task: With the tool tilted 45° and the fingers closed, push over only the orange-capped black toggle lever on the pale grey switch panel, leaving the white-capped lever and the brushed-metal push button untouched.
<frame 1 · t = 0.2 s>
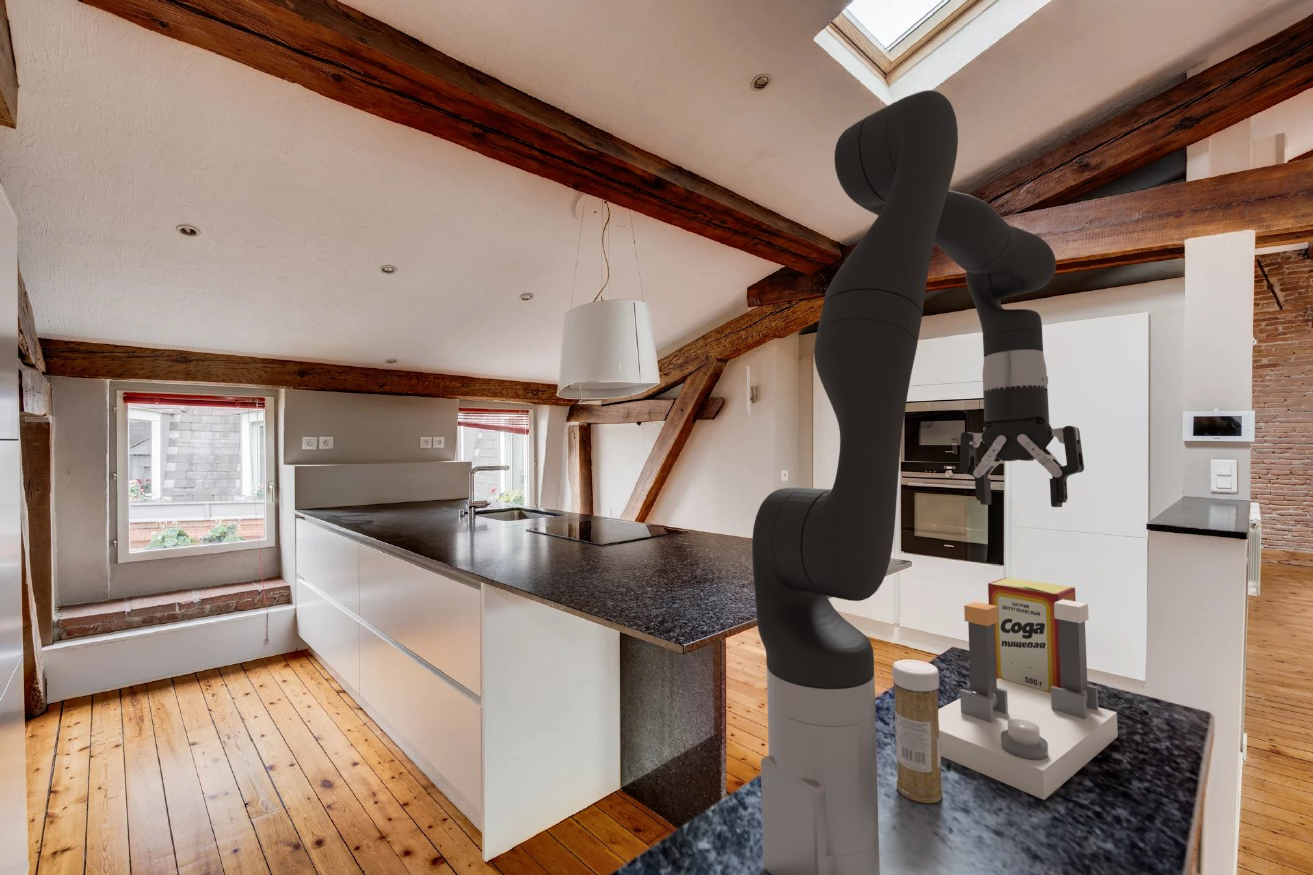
hand: (1020, 505, 78), 29 cm above the counter, tool pointing down, fingers open, 8 cm apart
switch panel: (1018, 740, 72), on the counter
sprinkles bottle: (919, 794, 61), on the counter
lever orange: (982, 657, 73), point 10 cm above the counter, hinge at 0.0°
baking soda box: (1034, 690, 87), on the counter
lever white: (1072, 654, 74), point 10 cm above the counter, hinge at 0.0°
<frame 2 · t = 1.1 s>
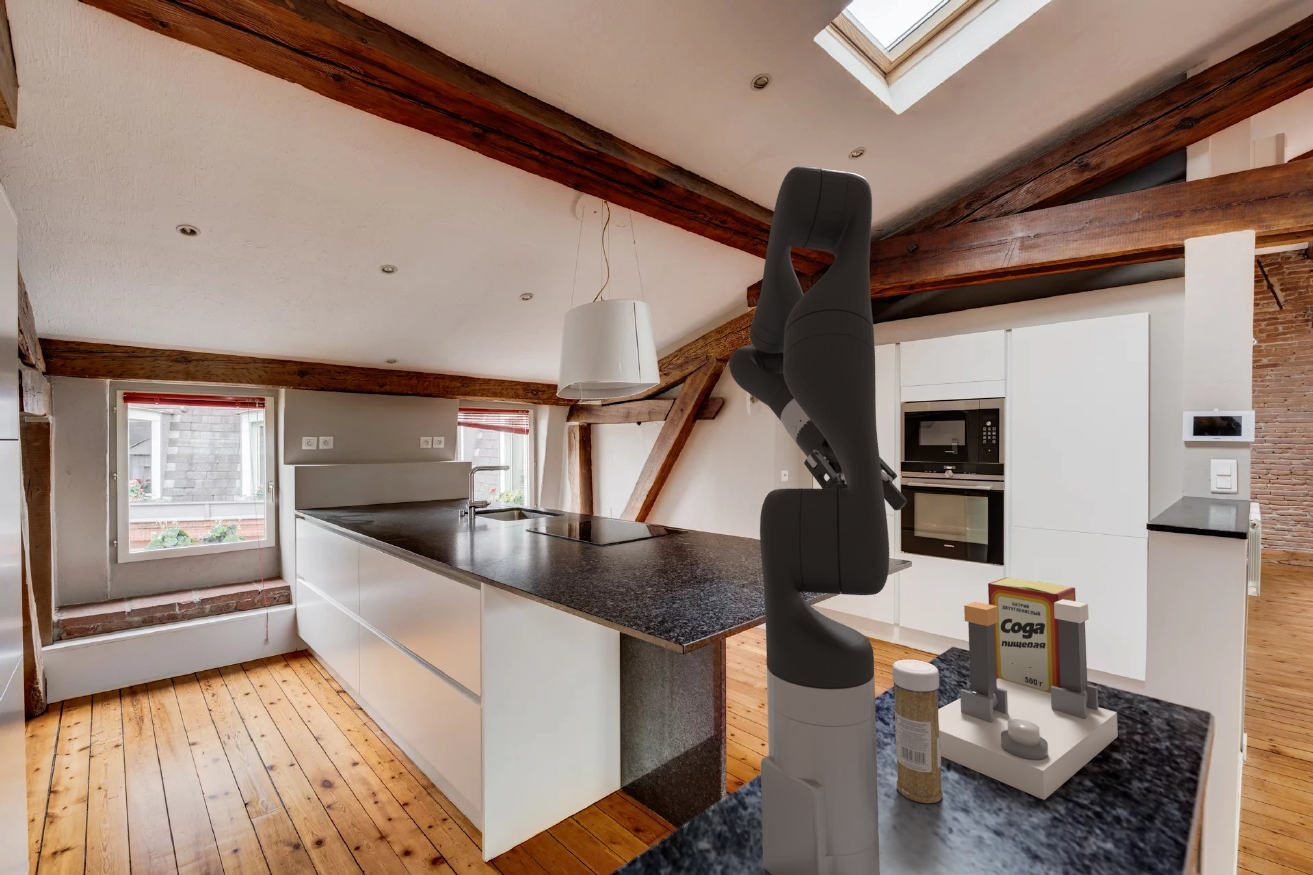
hand: (884, 508, 78), 29 cm above the counter, tool tilted 45°, fingers open, 8 cm apart
nothing on the counter moved.
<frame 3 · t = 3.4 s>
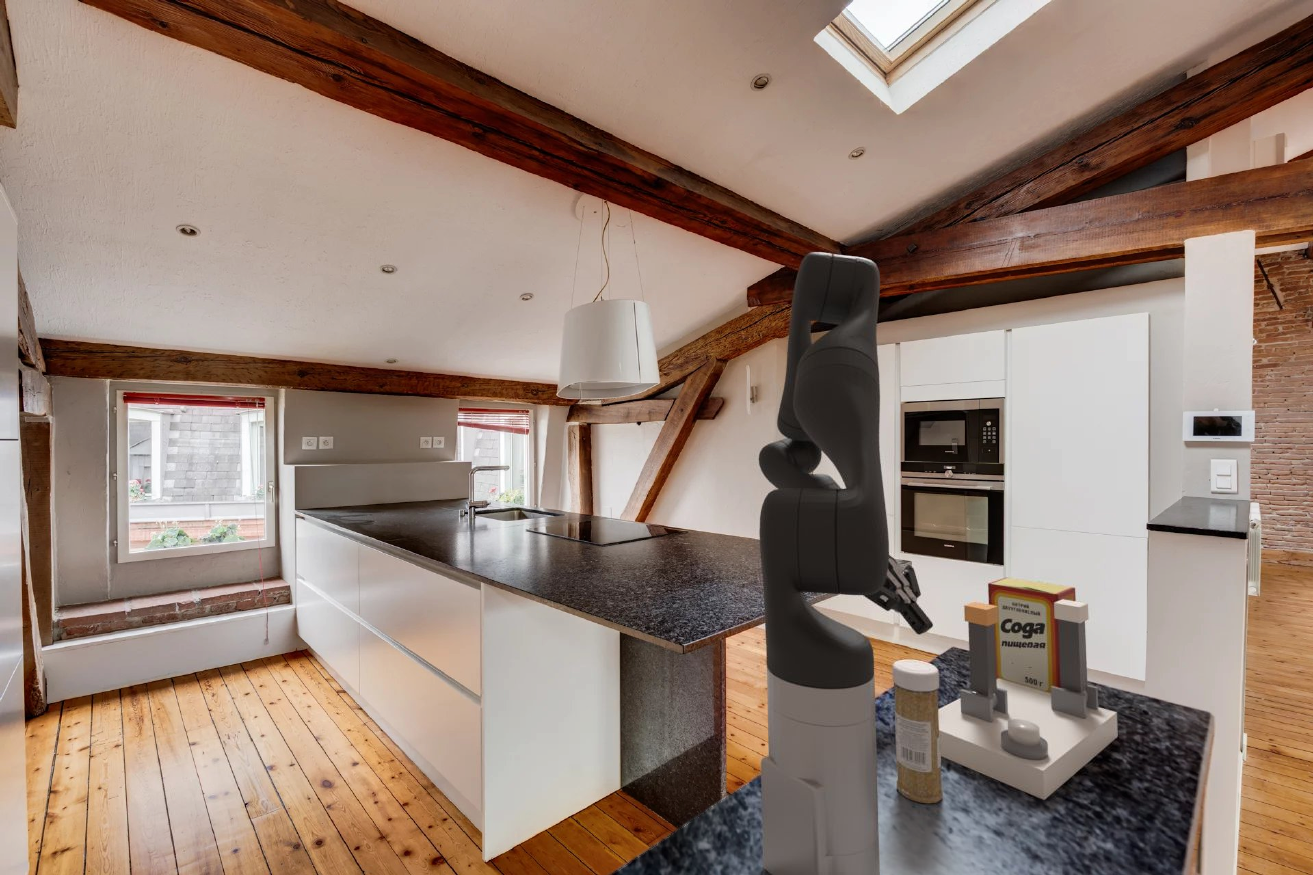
hand: (926, 630, 79), 12 cm above the counter, tool tilted 45°, fingers closed
nothing on the counter moved.
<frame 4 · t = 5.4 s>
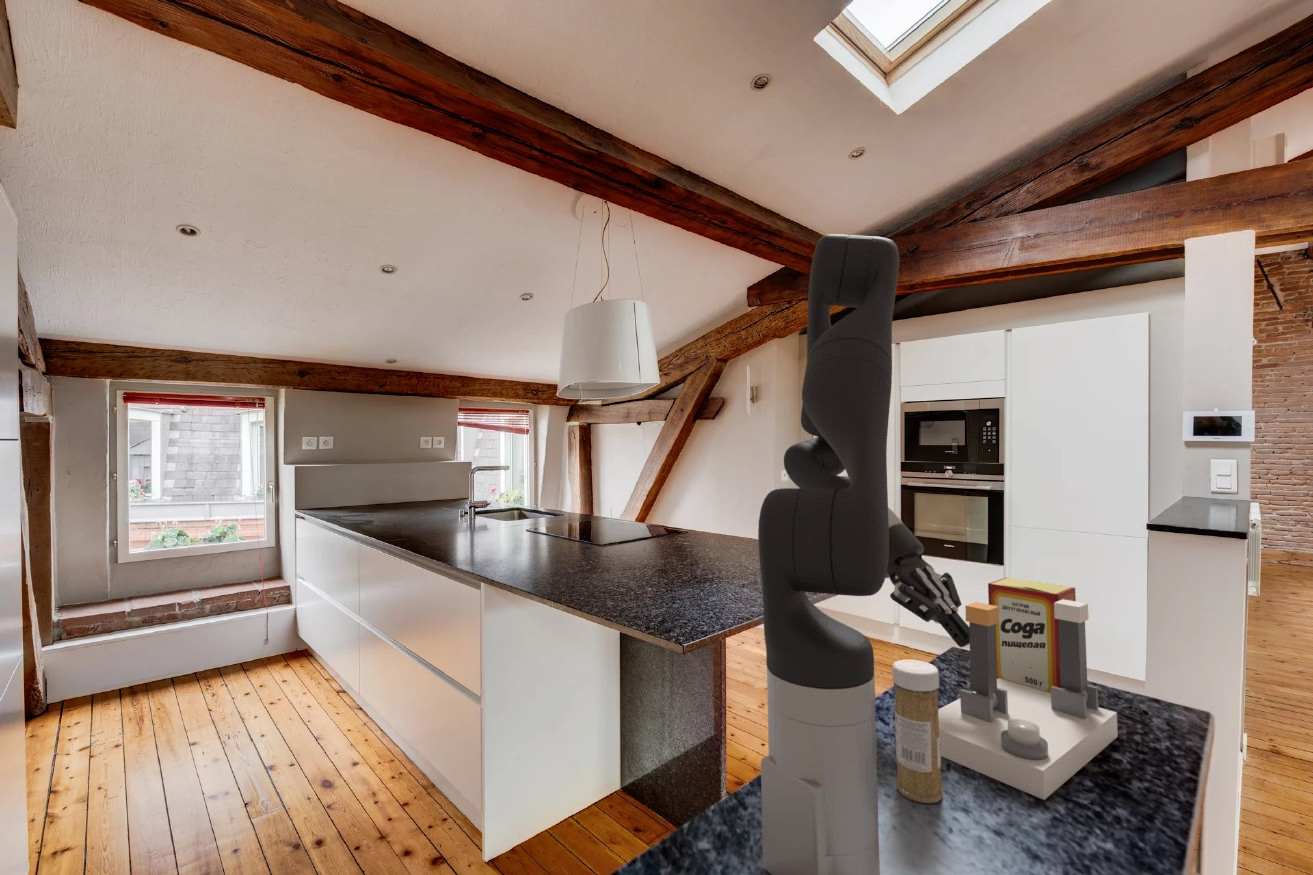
hand: (969, 642, 74), 11 cm above the counter, tool tilted 45°, fingers closed
lever orange: (983, 657, 73), point 10 cm above the counter, hinge at 0.8°, touching gripper
everything else where it was.
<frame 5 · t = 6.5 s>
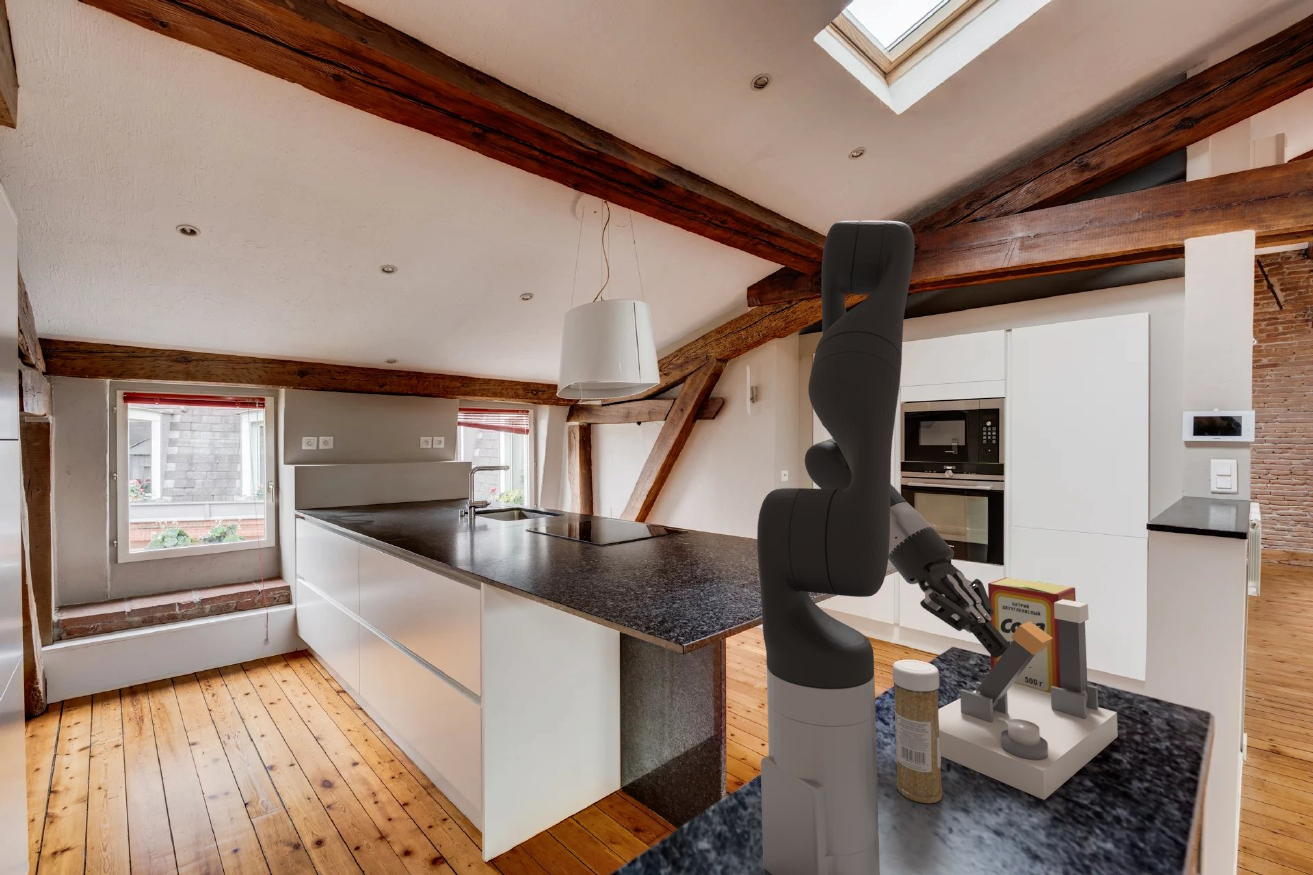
hand: (1003, 653, 71), 11 cm above the counter, tool tilted 45°, fingers closed
lever orange: (1006, 670, 71), point 9 cm above the counter, hinge at 31.7°, touching gripper
everything else where it was.
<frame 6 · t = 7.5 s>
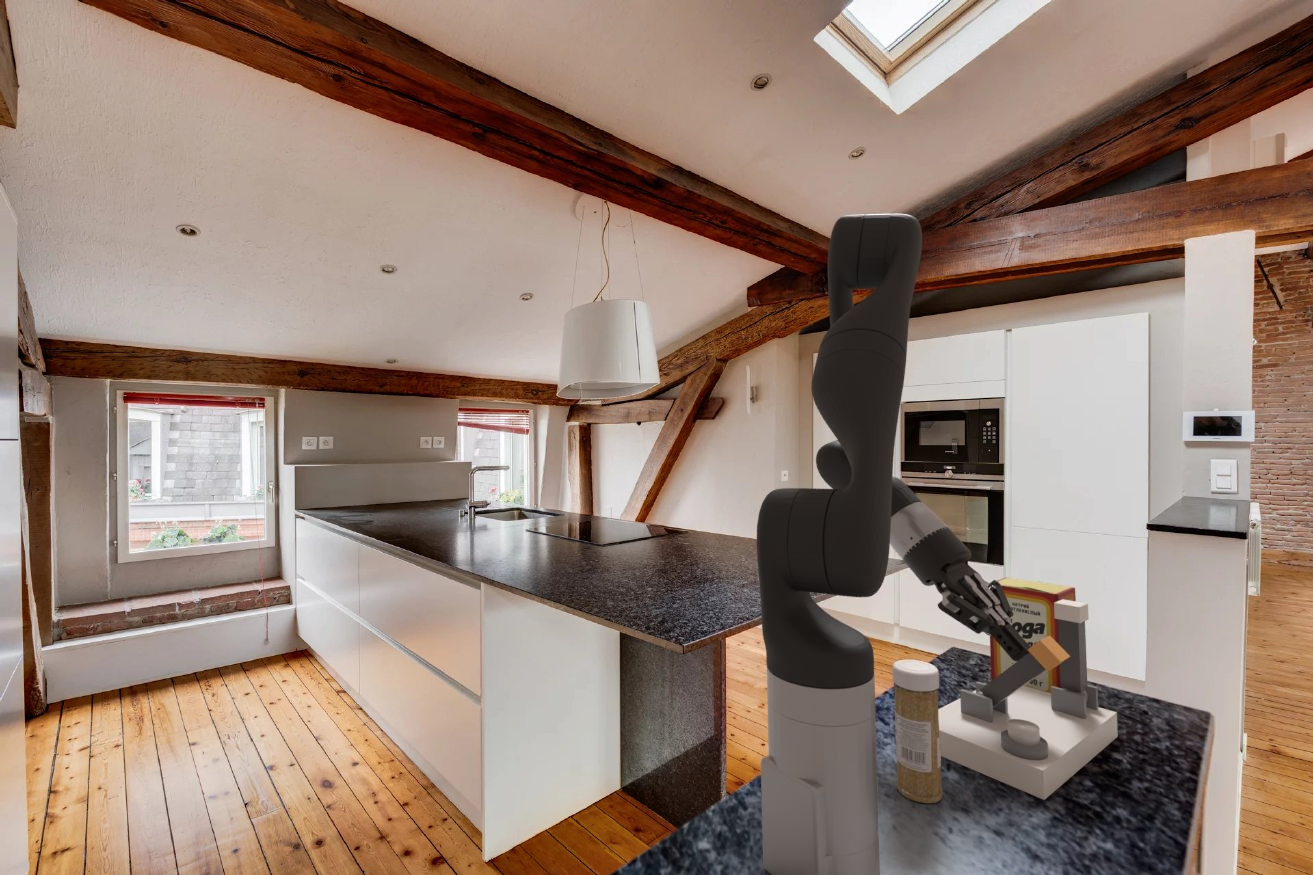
hand: (1024, 656, 69), 11 cm above the counter, tool tilted 45°, fingers closed
lever orange: (1014, 677, 70), point 8 cm above the counter, hinge at 43.1°, touching gripper
everything else where it was.
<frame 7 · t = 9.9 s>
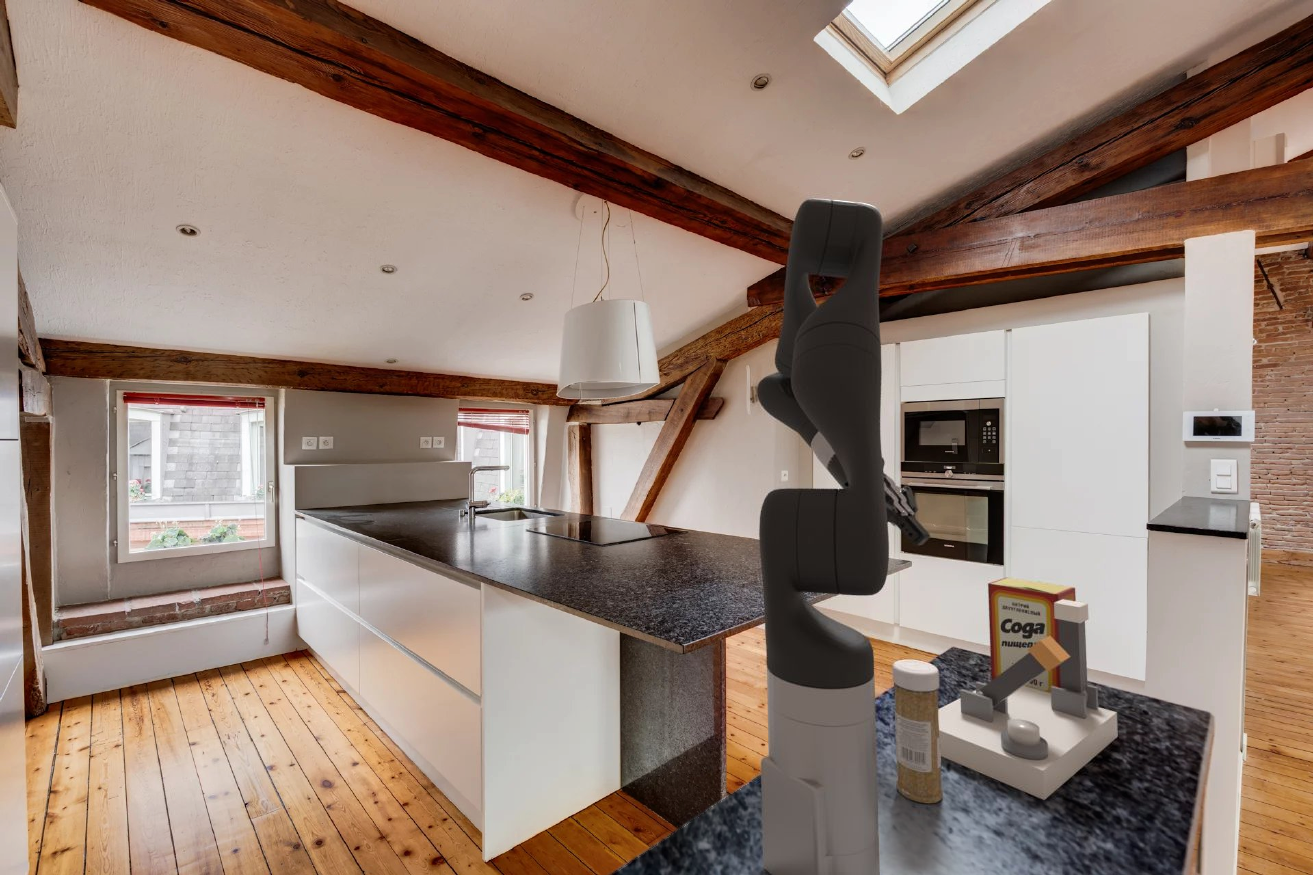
hand: (923, 541, 80), 24 cm above the counter, tool tilted 45°, fingers closed
lever orange: (1014, 678, 70), point 8 cm above the counter, hinge at 43.2°
everything else where it was.
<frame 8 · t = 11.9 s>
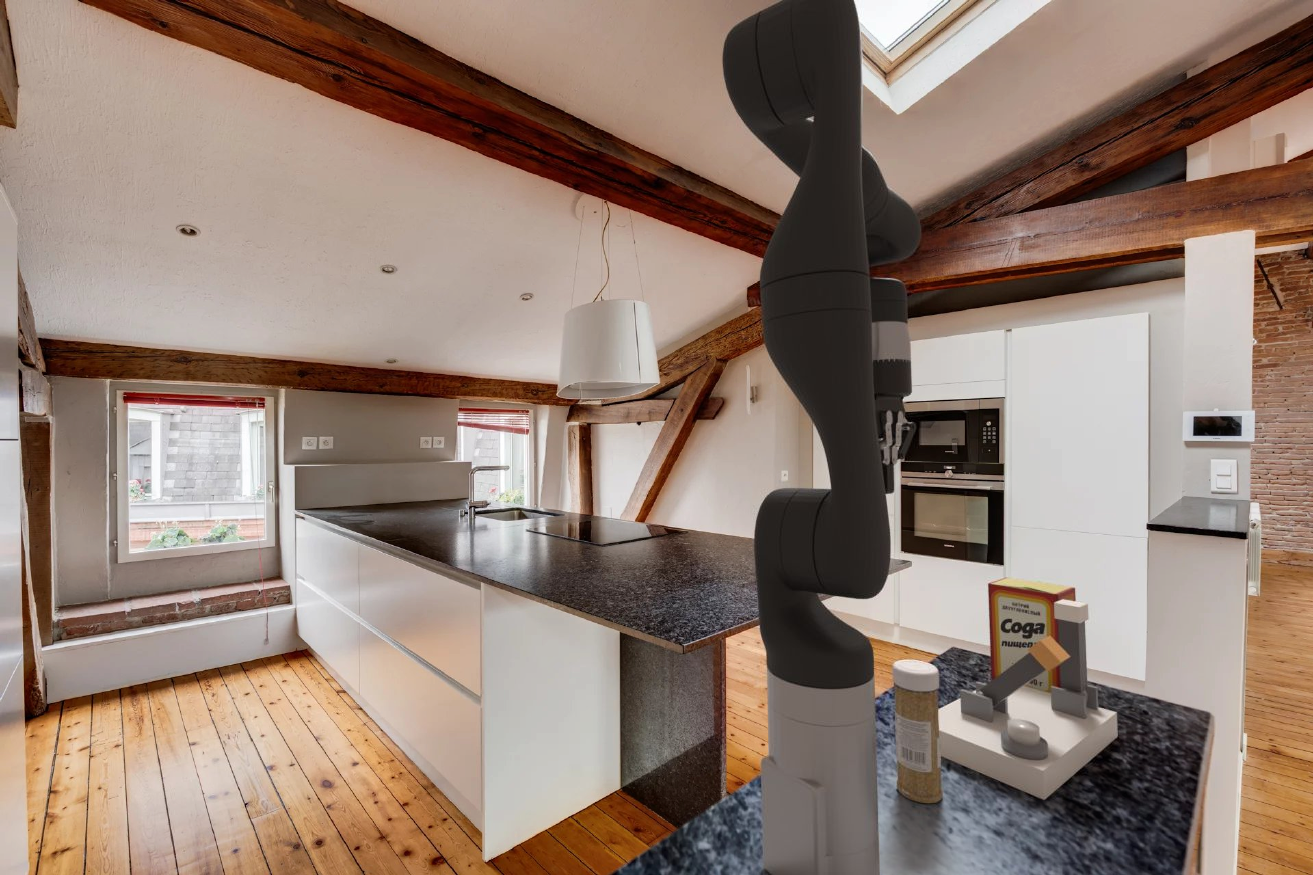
hand: (883, 493, 75), 31 cm above the counter, tool pointing down, fingers closed
nothing on the counter moved.
at the end: lever orange at +43° (first picture: +0°); lever white at +0° (first picture: +0°) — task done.
